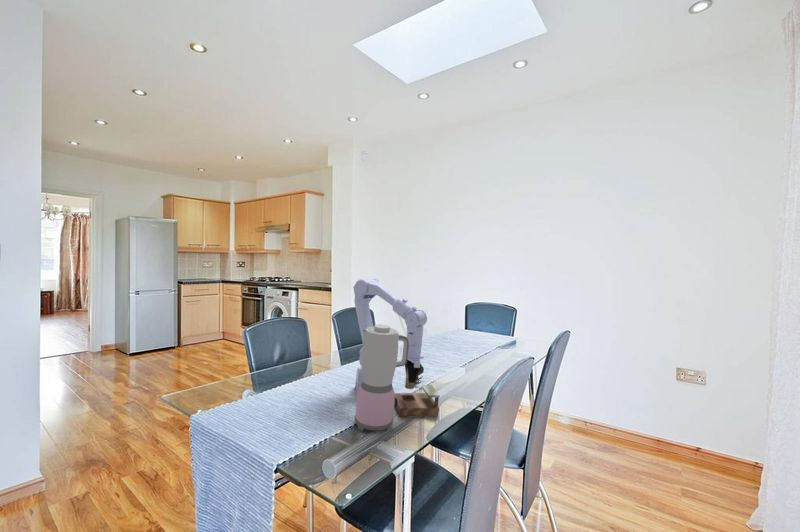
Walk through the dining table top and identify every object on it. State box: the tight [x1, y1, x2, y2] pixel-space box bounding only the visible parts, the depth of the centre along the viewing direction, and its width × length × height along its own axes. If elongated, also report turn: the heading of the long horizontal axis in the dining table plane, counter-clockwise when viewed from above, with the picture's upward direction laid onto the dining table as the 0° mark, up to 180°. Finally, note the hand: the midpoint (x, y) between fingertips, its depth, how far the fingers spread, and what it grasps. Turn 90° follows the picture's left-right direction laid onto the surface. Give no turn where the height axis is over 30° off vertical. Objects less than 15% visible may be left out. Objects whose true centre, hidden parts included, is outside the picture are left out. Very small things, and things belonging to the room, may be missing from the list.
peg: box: [404, 369, 415, 390], centre depth 129 cm, size 3×3×8 cm
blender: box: [354, 324, 409, 432], centre depth 113 cm, size 16×12×32 cm
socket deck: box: [394, 384, 440, 418], centre depth 127 cm, size 14×12×7 cm
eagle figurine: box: [415, 365, 425, 384], centre depth 153 cm, size 8×7×9 cm
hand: (410, 380), depth 129 cm, fingers closed on peg, 3 cm apart
